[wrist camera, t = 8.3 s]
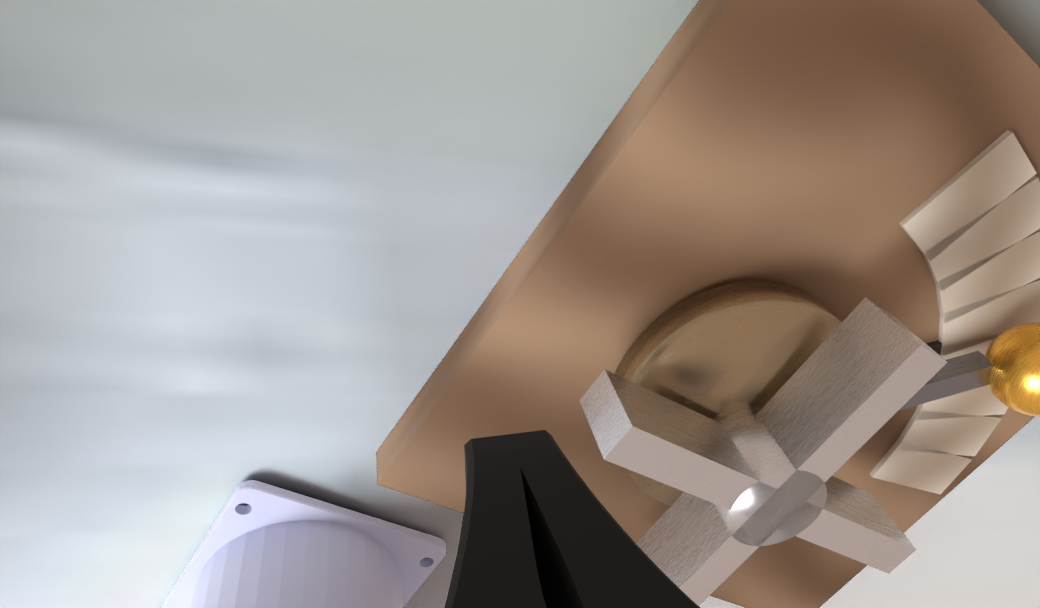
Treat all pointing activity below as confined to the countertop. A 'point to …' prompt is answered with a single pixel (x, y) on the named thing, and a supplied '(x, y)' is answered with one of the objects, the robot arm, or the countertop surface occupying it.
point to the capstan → (776, 421)
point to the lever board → (770, 246)
